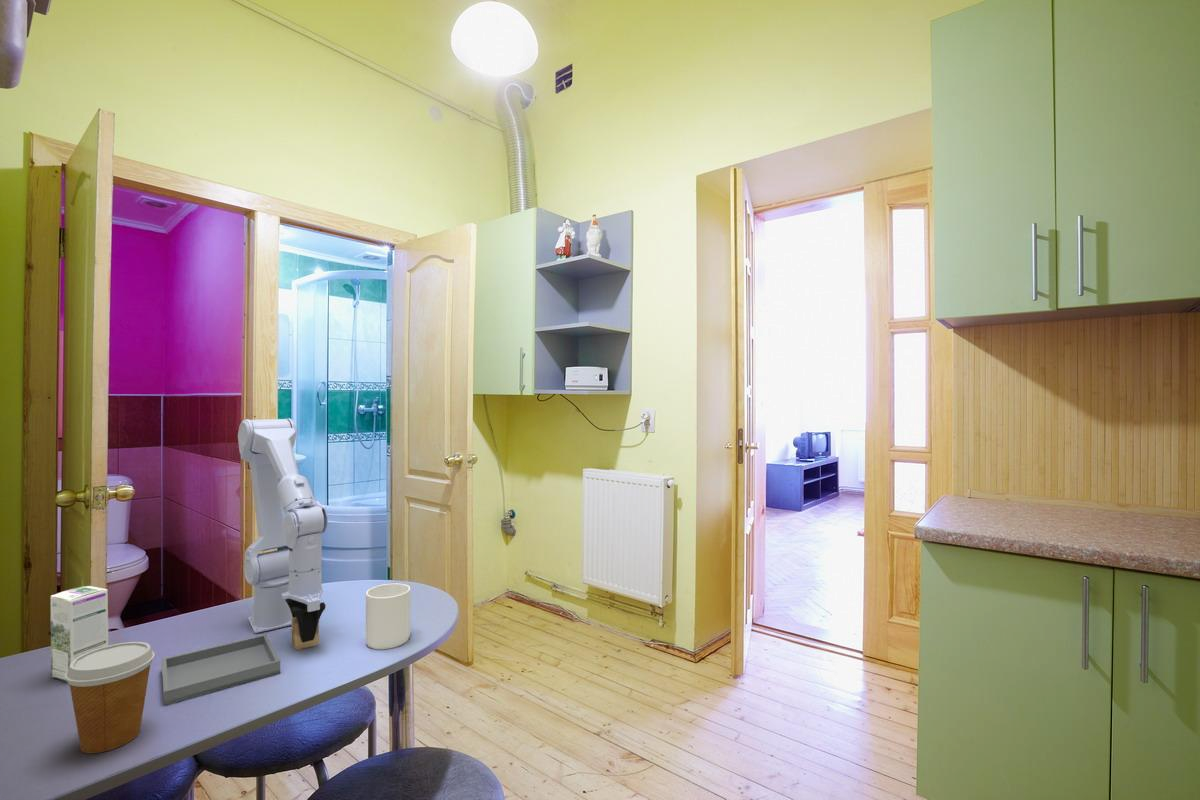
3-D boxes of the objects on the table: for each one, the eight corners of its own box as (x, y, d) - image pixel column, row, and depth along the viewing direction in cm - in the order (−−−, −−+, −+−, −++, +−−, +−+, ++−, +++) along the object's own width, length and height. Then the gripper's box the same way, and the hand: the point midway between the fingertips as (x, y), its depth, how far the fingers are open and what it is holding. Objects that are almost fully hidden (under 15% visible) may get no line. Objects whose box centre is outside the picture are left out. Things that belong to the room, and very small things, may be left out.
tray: (161, 671, 96) (161, 658, 96) (266, 645, 107) (266, 634, 107) (164, 705, 86) (164, 691, 86) (280, 673, 96) (280, 660, 96)
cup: (375, 654, 103) (376, 601, 103) (351, 634, 112) (352, 585, 112) (417, 640, 109) (417, 590, 109) (391, 623, 118) (391, 576, 118)
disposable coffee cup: (102, 721, 82) (103, 641, 82) (170, 718, 82) (170, 639, 82) (43, 763, 72) (43, 673, 72) (120, 760, 73) (120, 670, 73)
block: (291, 643, 108) (291, 617, 108) (313, 637, 110) (313, 612, 110) (295, 650, 105) (295, 624, 105) (318, 644, 107) (318, 619, 107)
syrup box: (110, 668, 97) (110, 587, 97) (69, 684, 92) (69, 598, 92) (90, 663, 99) (90, 583, 99) (48, 678, 94) (48, 594, 94)
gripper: (275, 563, 110) (275, 629, 111) (290, 581, 99) (289, 656, 99) (313, 556, 115) (313, 620, 115) (331, 574, 104) (331, 645, 104)
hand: (305, 636), depth 108 cm, fingers closed on block, 4 cm apart
